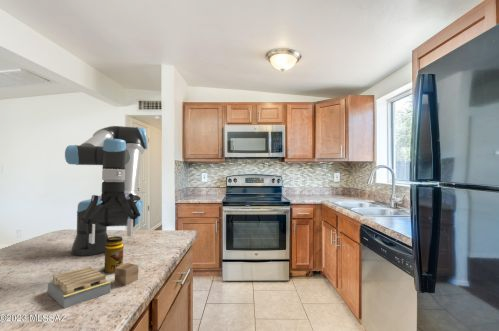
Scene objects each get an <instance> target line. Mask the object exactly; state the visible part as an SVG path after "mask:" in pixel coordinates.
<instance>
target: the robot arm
mask: <svg viewBox="0 0 499 331" xmlns="http://www.w3.org/2000/svg"><path fill="white" fill-rule="evenodd" d="M147 149H148V139H147V130H146V128H144V127H140V126H139V127H138V126H136V127H133V126H119V125H111V126H106V127H104V128H100V129H98V130H96V131H95V132H94V133H93V134H92V137H90V138H89V139H87V140H86V141H84V142H82V143H81V144H80V145H77V144H74V145H68V146H66V148H65V150H64V159H65V162H66V163H67V164H68V165H73V166H74V165H76V166H102V167H101V168H102V170H101V172H102V173H101V180H102V182H101V194H100V195H96V194H93V195H91V197H90V199H86V200H85V199H84V200H82V201H80V202H78V204H77V209H76V210H77V211H76V235H75V238H74V240H73V243H72V246H71V251H70V252H71V254H72V255H74V256H84V257H85V256H94V255H99V254H103V253H105V246H106V243H107V241H106V240H107V238H109V235H108V232H107V231H108V229H107V228H108V227H127V233H126V235H127V236H128V237H134V235H133V234H134V228H135V226H137V225H138V224H140V222H141V220H142V219H141V218H142V216H143V209H144V201H143V200H142V199H141V196H140V195H139V194H138V192H139V191H138V190H139V179H140V167H141V156H142V154H144V153H145V150H147ZM127 236H126V237H127Z"/></svg>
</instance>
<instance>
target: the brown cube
mask: <svg viewBox="0 0 499 331" xmlns="http://www.w3.org/2000/svg"><path fill="white" fill-rule="evenodd" d="M138 280H139V264H135V263H130V262H126V263H123V265H121V266H118V267H116V268H115V274H114V284H117V285H121V286H129V285H130V284H133V283H134V282H137V281H138Z"/></svg>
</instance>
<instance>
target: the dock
mask: <svg viewBox="0 0 499 331" xmlns="http://www.w3.org/2000/svg"><path fill="white" fill-rule="evenodd" d="M111 285H112V284H111V281H110V280H108V279H106V283H103V284H99V283H97V282H94V283H91V287H90V288H87V289H84V288H82V287H77V288H74V293H71V294H66V293H65V292H64V291H63V290H61V289H60V288H59V287H58V286H57V285H55V284H54V283H53V280H51V281H47V290H46V293H47V294H48V295H49V296H50V297H52V299H53V300H55V301H56V302H57V303H58V305H59V306H61V307H62V309H66V308H70V307H72V306H75V305H78V304H81V303H84V302H87V301H88V300H92V299H94V298H98V297H101V296H104V295H107V294H109V293H111Z"/></svg>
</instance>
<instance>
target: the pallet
mask: <svg viewBox="0 0 499 331" xmlns="http://www.w3.org/2000/svg"><path fill="white" fill-rule="evenodd" d="M98 271H99V270H97V269H95V268H93V267H91V266H85V267H82V268H78V269H74V270H71V271H66V272H63V273H59V274H54V275H53V276H52V277H53V278H52V281H53V283H54V284H55V285H57V286H58V287H59V288H60V289H61V290H63V291H64V292H65V293H66V294H71V293H74V288H77V287H82V288H84V289H87V288H90V287H91V283H94V282H97V283H99V284H103V283H106V280H107V278H106V274H102V273H100V272H98Z"/></svg>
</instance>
